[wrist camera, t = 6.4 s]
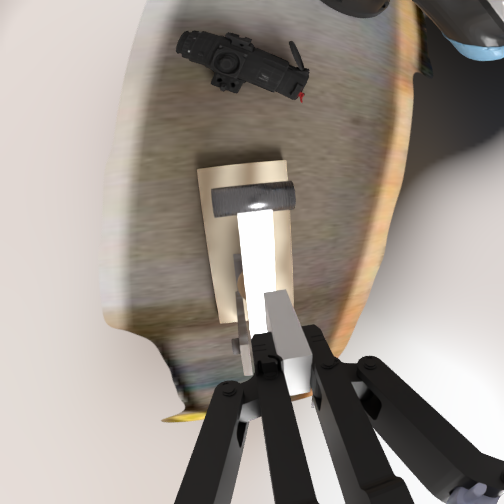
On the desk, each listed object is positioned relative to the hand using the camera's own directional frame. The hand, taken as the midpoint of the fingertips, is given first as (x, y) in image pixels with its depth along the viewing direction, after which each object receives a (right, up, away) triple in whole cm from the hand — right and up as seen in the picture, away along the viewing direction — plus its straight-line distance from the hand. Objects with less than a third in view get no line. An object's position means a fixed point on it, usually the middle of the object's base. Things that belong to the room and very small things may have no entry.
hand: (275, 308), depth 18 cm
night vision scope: (-3, +29, +15) cm, 33 cm away
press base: (-2, +5, +23) cm, 24 cm away
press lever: (-1, +1, +11) cm, 12 cm away
